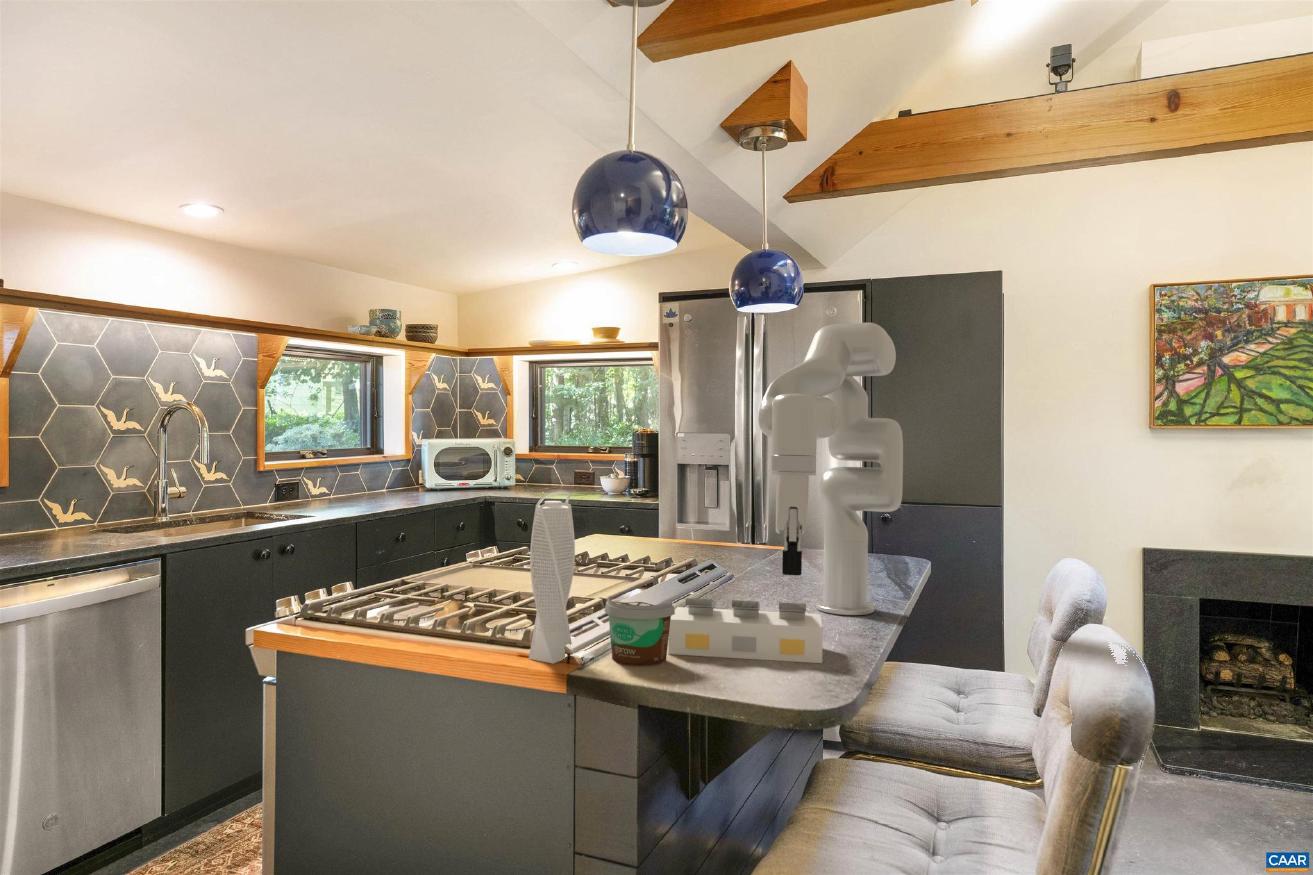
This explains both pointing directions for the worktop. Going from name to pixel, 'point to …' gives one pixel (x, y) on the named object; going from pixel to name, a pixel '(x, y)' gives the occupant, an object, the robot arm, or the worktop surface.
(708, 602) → the switch
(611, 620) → the food container
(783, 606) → the switch
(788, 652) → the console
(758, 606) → the switch
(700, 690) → the worktop surface
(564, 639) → the skyscraper
